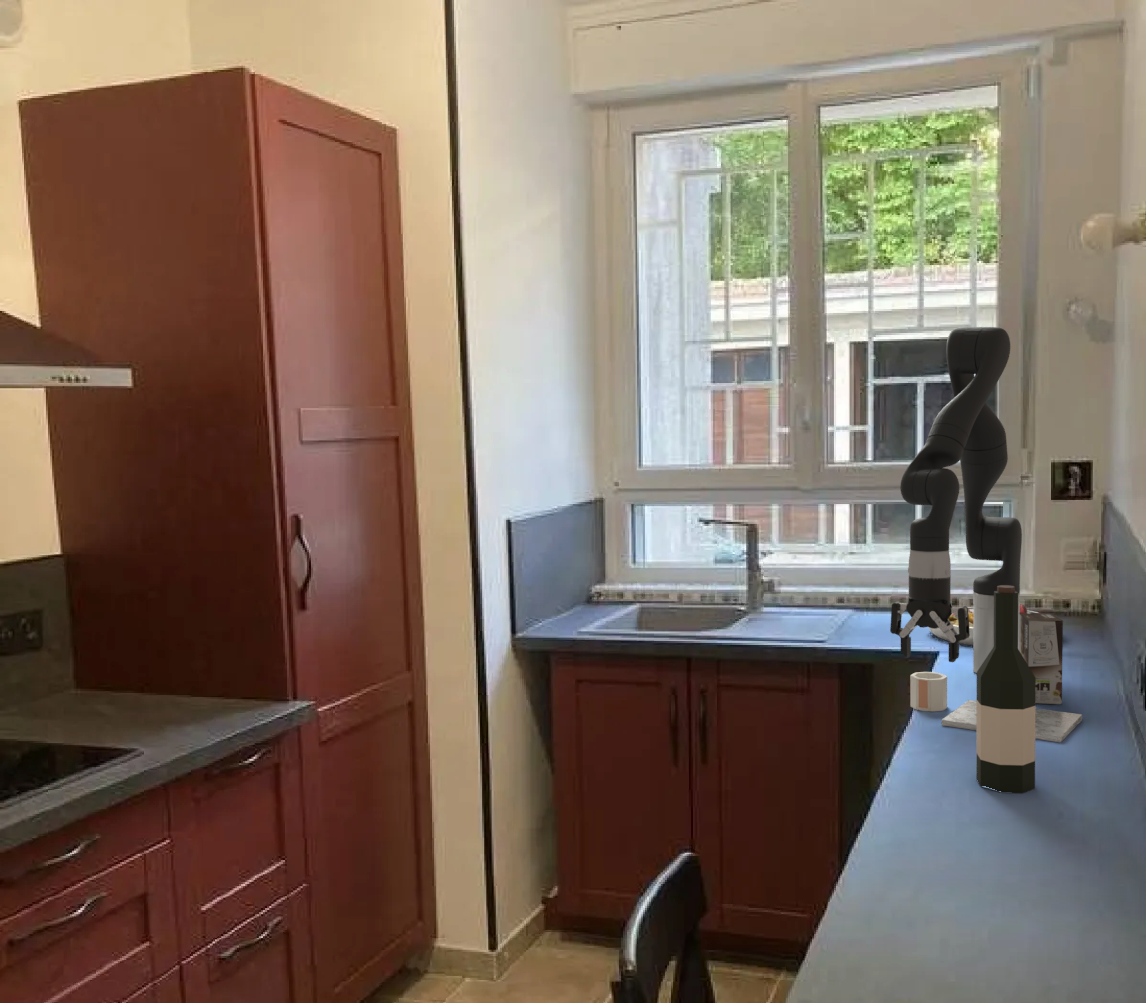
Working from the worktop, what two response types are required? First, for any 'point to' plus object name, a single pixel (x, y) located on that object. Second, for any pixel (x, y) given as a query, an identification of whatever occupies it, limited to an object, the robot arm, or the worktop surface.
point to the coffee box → (1043, 653)
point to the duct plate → (1046, 721)
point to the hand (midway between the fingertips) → (929, 659)
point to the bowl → (956, 625)
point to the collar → (928, 691)
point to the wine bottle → (1006, 705)
